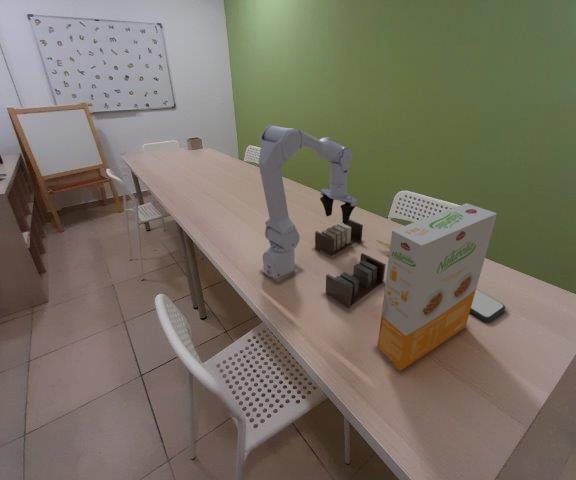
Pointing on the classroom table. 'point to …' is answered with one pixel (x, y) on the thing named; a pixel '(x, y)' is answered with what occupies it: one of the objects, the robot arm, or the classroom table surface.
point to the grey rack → (356, 281)
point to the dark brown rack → (337, 238)
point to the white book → (348, 232)
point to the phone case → (485, 307)
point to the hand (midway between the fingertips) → (336, 218)
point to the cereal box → (432, 280)
